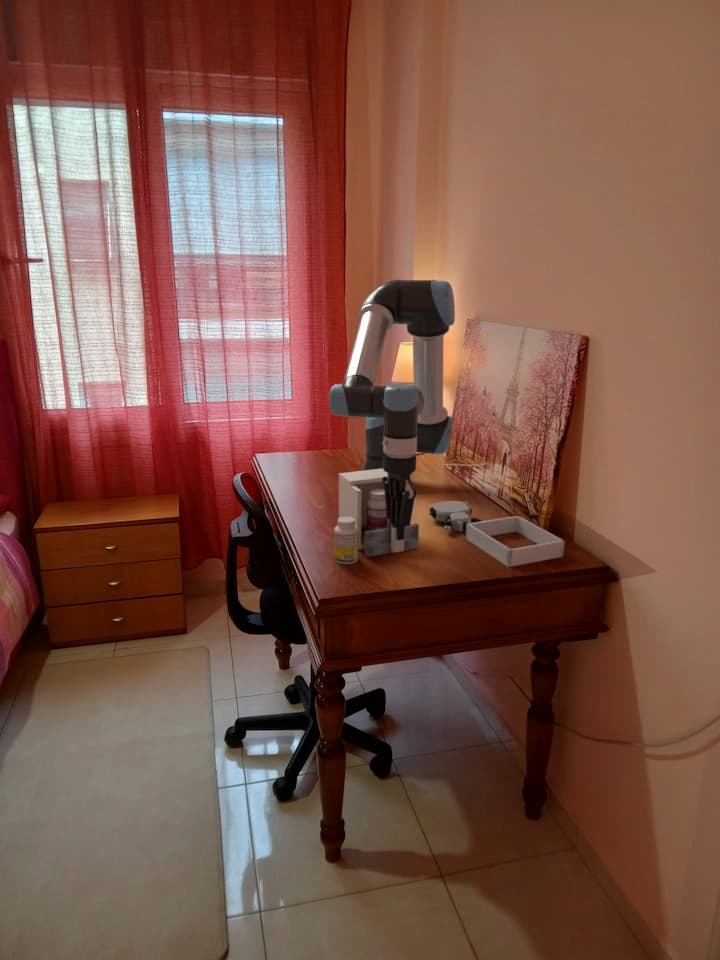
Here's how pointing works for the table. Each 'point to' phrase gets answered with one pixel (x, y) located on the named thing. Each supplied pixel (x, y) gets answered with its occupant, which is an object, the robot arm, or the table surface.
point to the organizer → (544, 549)
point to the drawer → (387, 540)
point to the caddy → (358, 495)
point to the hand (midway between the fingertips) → (397, 550)
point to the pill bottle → (377, 511)
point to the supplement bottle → (346, 541)
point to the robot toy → (452, 514)
